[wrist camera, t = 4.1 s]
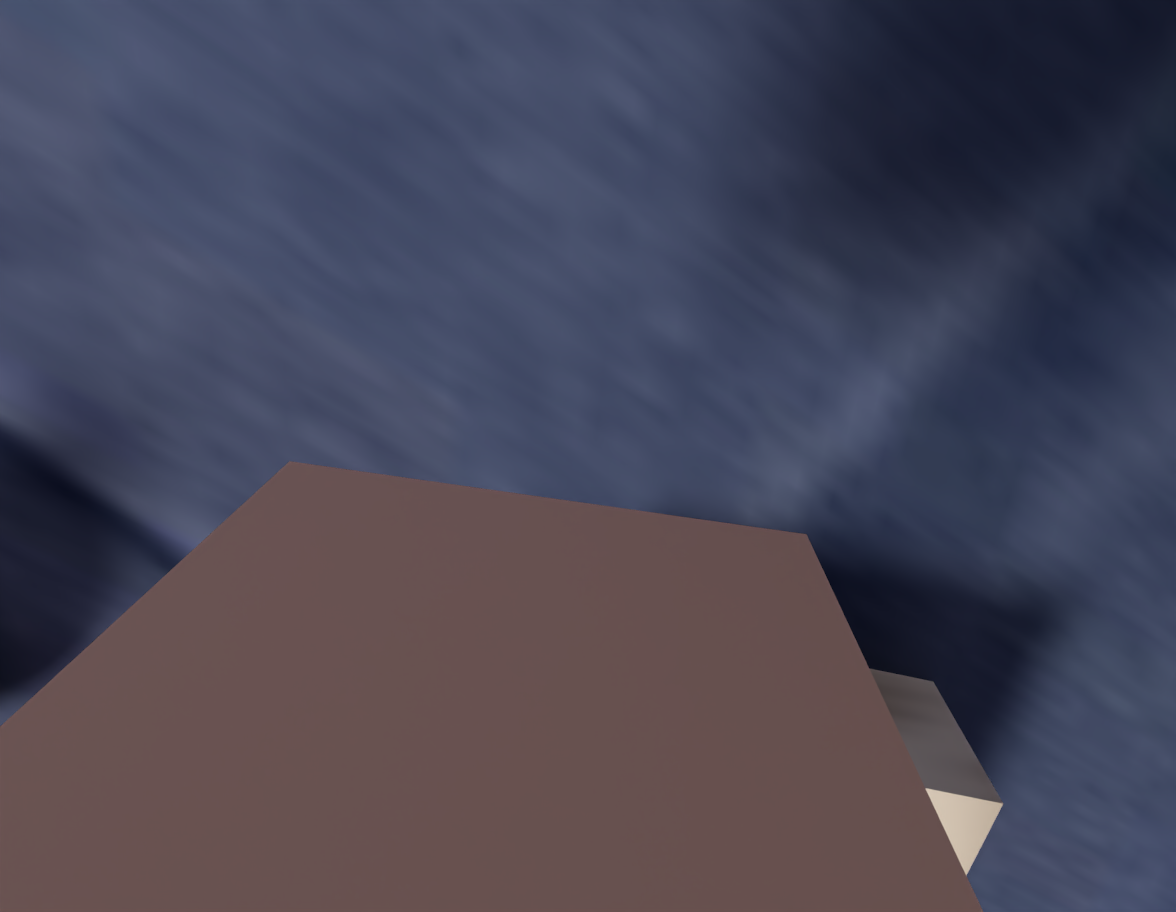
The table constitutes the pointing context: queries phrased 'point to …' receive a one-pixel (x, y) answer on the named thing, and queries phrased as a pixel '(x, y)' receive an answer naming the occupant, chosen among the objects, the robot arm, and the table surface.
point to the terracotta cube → (470, 723)
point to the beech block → (942, 761)
